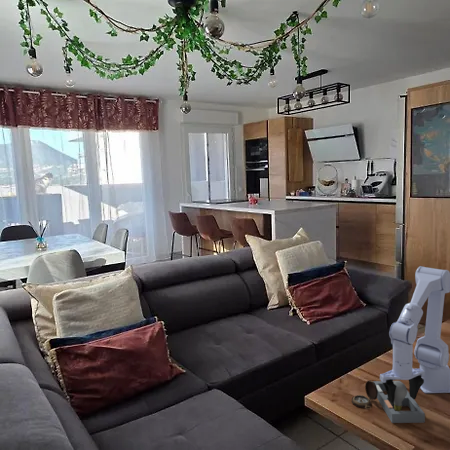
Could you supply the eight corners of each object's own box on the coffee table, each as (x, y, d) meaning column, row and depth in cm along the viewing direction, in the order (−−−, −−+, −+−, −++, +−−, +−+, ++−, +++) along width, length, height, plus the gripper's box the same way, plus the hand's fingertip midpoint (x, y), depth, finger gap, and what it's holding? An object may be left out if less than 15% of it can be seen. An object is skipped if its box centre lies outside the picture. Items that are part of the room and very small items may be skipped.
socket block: (399, 388, 138) (400, 380, 138) (424, 422, 120) (424, 412, 119) (371, 389, 139) (371, 380, 139) (391, 422, 120) (392, 413, 120)
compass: (348, 399, 134) (347, 380, 133) (368, 395, 135) (368, 376, 134) (360, 413, 126) (360, 392, 125) (382, 409, 127) (382, 388, 126)
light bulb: (410, 415, 123) (410, 385, 122) (393, 416, 123) (393, 387, 122) (402, 405, 129) (402, 377, 128) (386, 406, 129) (385, 378, 127)
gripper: (414, 351, 127) (414, 389, 129) (374, 356, 125) (374, 395, 127) (429, 361, 121) (428, 401, 122) (387, 367, 118) (386, 408, 120)
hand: (401, 399), depth 124 cm, fingers open, 7 cm apart
